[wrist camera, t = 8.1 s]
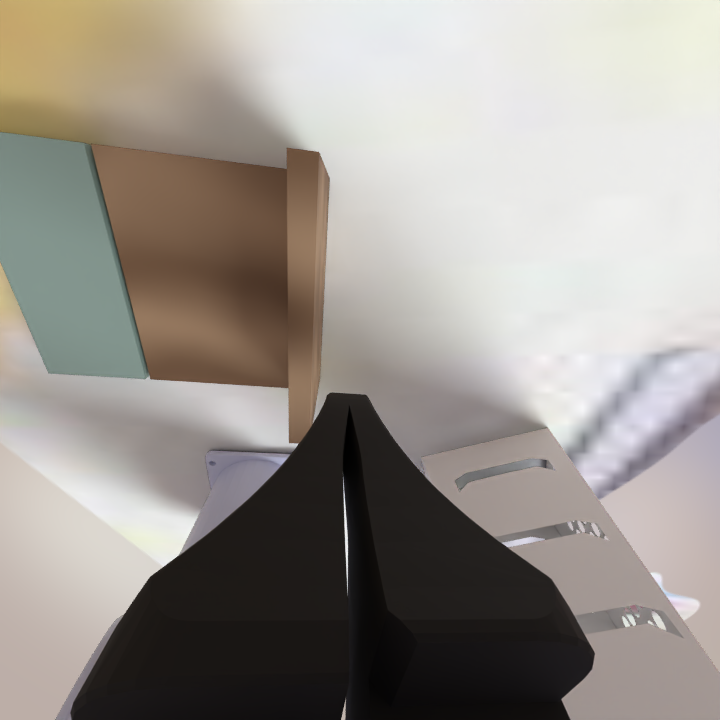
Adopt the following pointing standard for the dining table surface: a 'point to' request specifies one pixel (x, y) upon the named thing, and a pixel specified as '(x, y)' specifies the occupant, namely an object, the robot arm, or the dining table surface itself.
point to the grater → (586, 580)
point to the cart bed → (224, 267)
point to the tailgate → (65, 259)
